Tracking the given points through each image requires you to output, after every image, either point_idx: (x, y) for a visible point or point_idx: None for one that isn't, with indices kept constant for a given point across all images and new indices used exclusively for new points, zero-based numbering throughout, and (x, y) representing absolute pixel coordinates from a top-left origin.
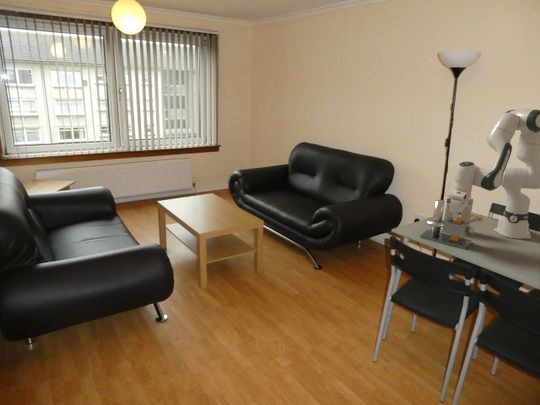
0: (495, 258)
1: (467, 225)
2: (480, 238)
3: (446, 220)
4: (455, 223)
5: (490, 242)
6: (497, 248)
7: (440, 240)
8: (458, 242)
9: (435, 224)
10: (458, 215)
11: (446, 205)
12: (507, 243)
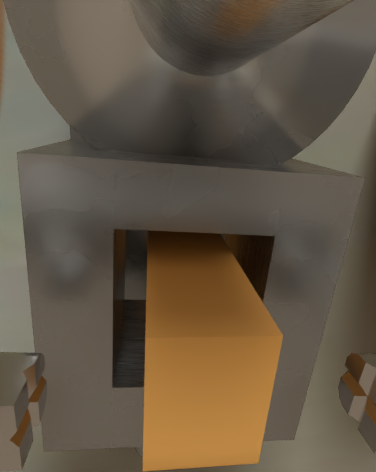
0: (67, 452)
1: (127, 442)
2: (352, 336)
3: (132, 173)
4: (75, 328)
5: (309, 387)
6: None
7: (70, 132)
8: (129, 267)
9: (10, 2)
10: (213, 415)
11: None
12: (340, 443)
